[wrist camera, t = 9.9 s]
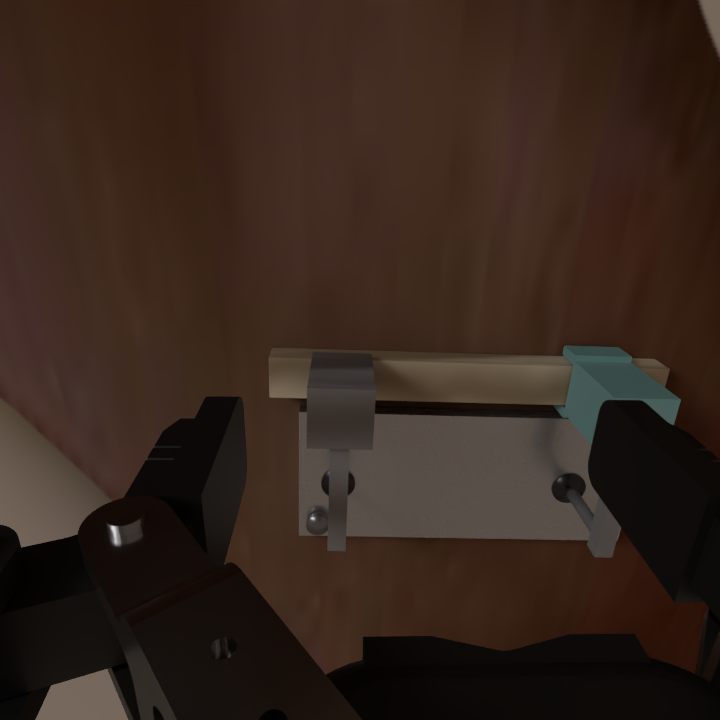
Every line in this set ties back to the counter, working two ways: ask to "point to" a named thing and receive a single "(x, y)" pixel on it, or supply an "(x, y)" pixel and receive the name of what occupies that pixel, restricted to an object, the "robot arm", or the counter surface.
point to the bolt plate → (455, 476)
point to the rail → (405, 395)
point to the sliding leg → (585, 396)
